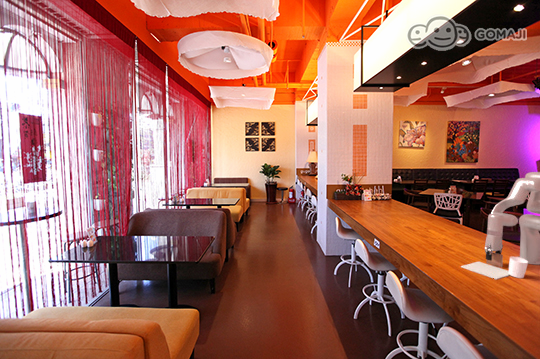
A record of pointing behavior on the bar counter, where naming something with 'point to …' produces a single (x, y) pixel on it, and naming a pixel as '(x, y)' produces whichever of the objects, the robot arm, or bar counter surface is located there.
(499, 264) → the tile
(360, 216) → the bar counter surface
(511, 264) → the white cup
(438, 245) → the bar counter surface
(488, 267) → the mat
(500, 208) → the robot arm
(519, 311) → the bar counter surface
